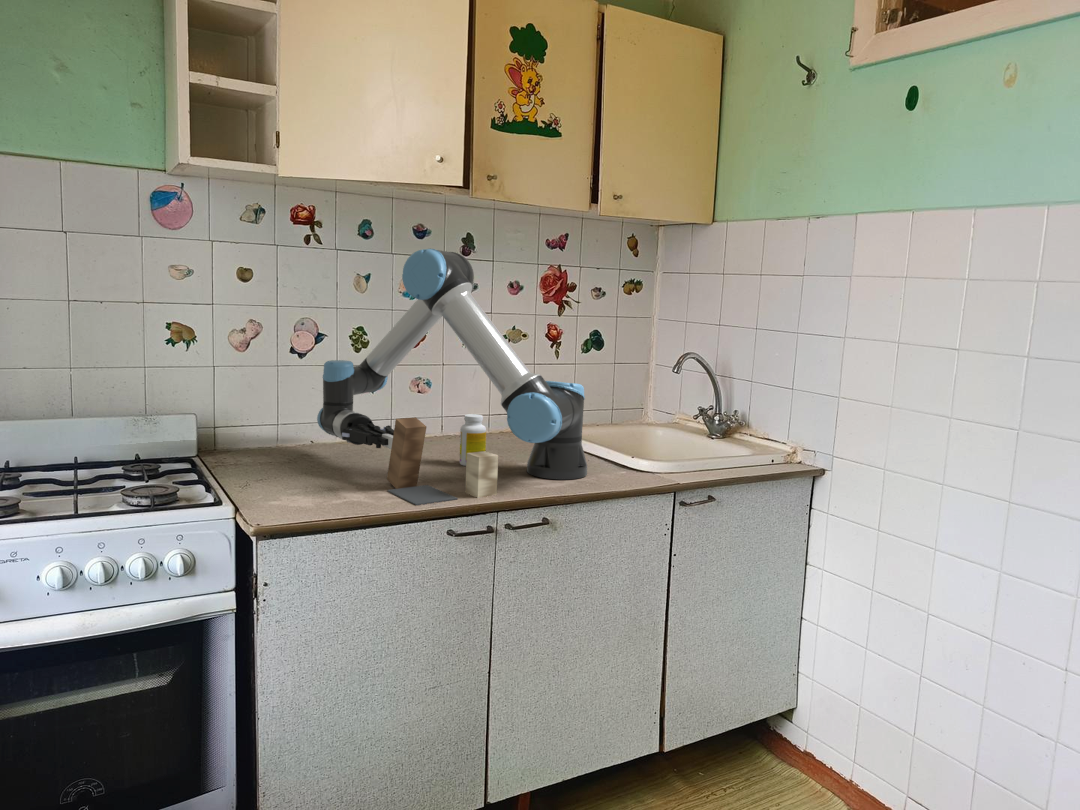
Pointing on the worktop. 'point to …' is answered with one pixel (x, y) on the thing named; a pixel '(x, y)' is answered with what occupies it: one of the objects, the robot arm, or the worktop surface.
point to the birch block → (481, 474)
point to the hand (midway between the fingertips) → (397, 444)
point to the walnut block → (406, 452)
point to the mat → (422, 494)
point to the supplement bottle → (472, 436)
